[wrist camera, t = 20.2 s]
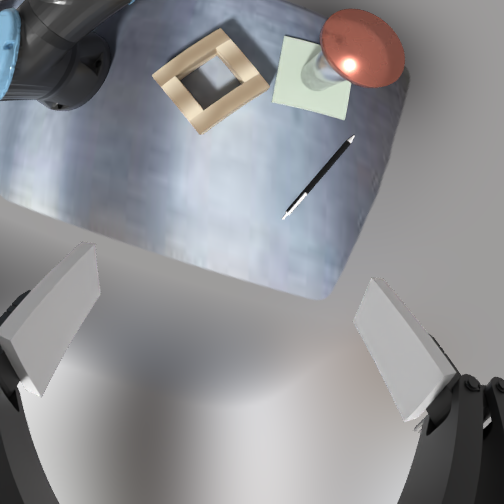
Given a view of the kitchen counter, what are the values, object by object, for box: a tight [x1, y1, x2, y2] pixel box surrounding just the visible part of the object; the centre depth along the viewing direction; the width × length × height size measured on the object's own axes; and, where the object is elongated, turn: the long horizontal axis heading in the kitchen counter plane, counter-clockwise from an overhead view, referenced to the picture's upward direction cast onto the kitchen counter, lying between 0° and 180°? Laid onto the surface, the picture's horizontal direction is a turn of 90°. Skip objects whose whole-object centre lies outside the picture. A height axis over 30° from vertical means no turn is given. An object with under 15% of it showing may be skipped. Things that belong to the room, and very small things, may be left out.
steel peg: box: [300, 9, 405, 91], centre depth 26 cm, size 9×9×18 cm
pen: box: [282, 135, 355, 220], centre depth 42 cm, size 1×19×1 cm, turn 141°
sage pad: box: [272, 36, 351, 120], centre depth 35 cm, size 12×12×1 cm
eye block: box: [152, 28, 270, 135], centre depth 33 cm, size 12×12×4 cm
